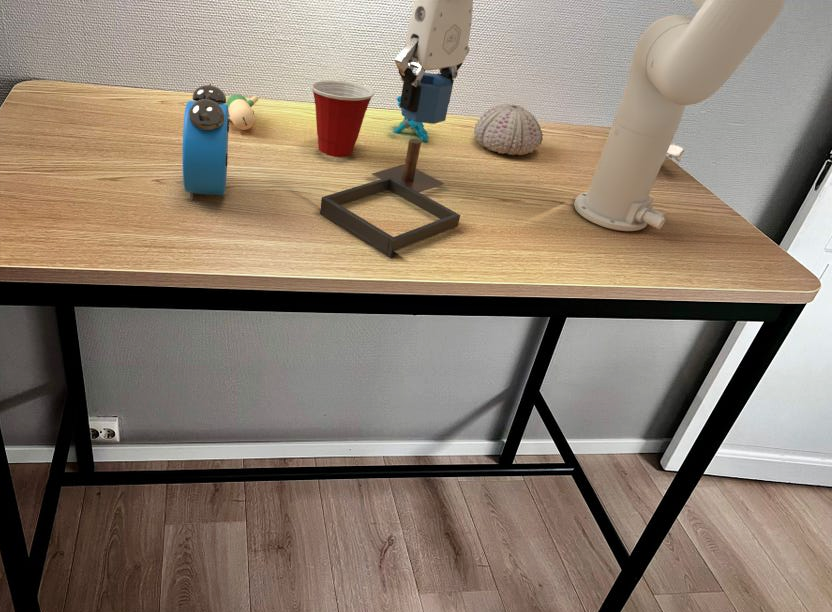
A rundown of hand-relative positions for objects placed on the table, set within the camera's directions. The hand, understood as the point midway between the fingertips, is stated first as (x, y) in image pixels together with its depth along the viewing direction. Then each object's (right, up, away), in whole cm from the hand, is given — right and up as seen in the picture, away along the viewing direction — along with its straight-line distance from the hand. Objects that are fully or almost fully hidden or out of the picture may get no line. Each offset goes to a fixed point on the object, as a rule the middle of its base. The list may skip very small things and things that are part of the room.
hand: (424, 104), depth 115 cm
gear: (0, +2, +25) cm, 25 cm away
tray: (-6, -19, -3) cm, 21 cm away
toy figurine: (-33, +3, +20) cm, 38 cm away
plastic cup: (-15, -4, +14) cm, 21 cm away
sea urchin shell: (+18, +1, +28) cm, 34 cm away
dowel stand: (-2, -11, +8) cm, 14 cm away
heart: (+46, -2, +30) cm, 55 cm away
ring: (0, -1, +1) cm, 2 cm away
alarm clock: (-34, -15, -3) cm, 37 cm away
